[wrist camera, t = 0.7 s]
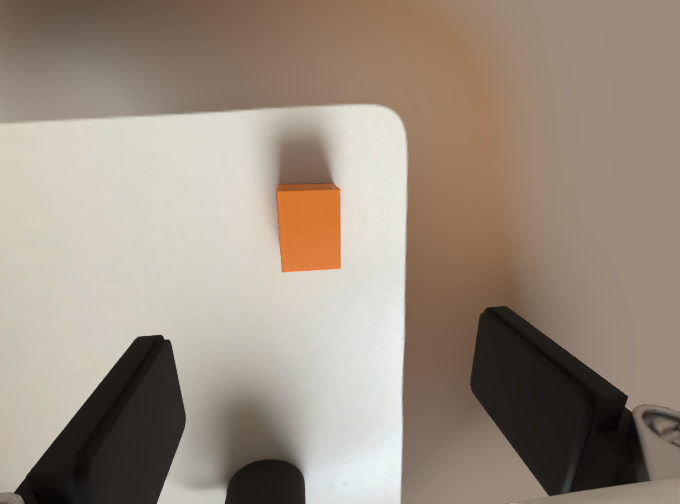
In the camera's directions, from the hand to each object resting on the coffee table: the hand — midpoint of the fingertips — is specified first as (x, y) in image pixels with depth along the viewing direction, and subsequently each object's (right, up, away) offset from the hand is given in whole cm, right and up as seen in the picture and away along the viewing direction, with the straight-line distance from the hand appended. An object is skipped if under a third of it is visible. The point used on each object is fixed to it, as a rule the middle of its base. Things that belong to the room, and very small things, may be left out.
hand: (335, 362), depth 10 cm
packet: (-3, +6, +17) cm, 18 cm away
